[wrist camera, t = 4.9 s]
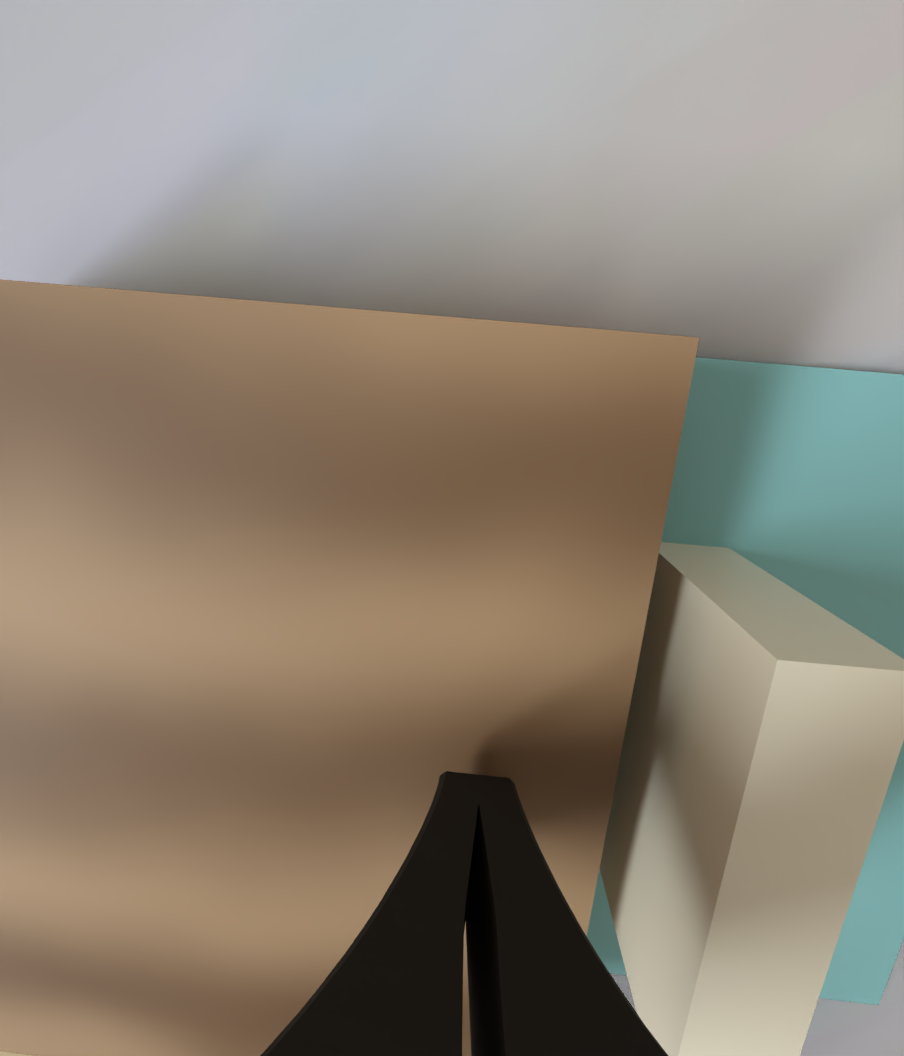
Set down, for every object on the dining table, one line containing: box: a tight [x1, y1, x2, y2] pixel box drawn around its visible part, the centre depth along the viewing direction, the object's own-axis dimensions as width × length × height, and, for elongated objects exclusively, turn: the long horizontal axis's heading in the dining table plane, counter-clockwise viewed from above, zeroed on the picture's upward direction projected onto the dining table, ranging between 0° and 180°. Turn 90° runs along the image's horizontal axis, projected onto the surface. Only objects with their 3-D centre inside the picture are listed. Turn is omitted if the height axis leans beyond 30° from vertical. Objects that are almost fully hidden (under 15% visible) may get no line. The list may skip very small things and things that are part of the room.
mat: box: [587, 357, 904, 1005], centre depth 14 cm, size 18×10×1 cm, turn 175°
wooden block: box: [0, 280, 699, 1056], centre depth 13 cm, size 18×14×4 cm
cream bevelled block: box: [600, 542, 904, 1056], centre depth 11 cm, size 9×6×2 cm
